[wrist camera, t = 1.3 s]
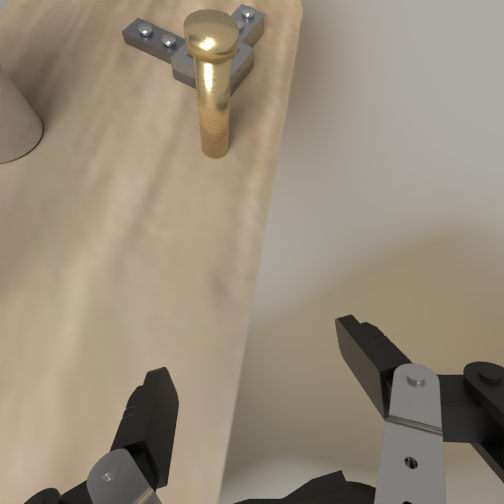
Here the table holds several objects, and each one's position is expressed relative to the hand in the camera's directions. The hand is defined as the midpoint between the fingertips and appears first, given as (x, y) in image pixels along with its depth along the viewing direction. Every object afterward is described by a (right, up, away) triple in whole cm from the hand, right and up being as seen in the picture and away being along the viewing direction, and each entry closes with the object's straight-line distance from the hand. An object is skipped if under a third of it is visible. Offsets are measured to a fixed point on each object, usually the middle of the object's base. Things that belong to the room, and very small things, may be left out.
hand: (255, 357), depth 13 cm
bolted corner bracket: (-8, +37, +31) cm, 49 cm away
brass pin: (-5, +19, +24) cm, 31 cm away
